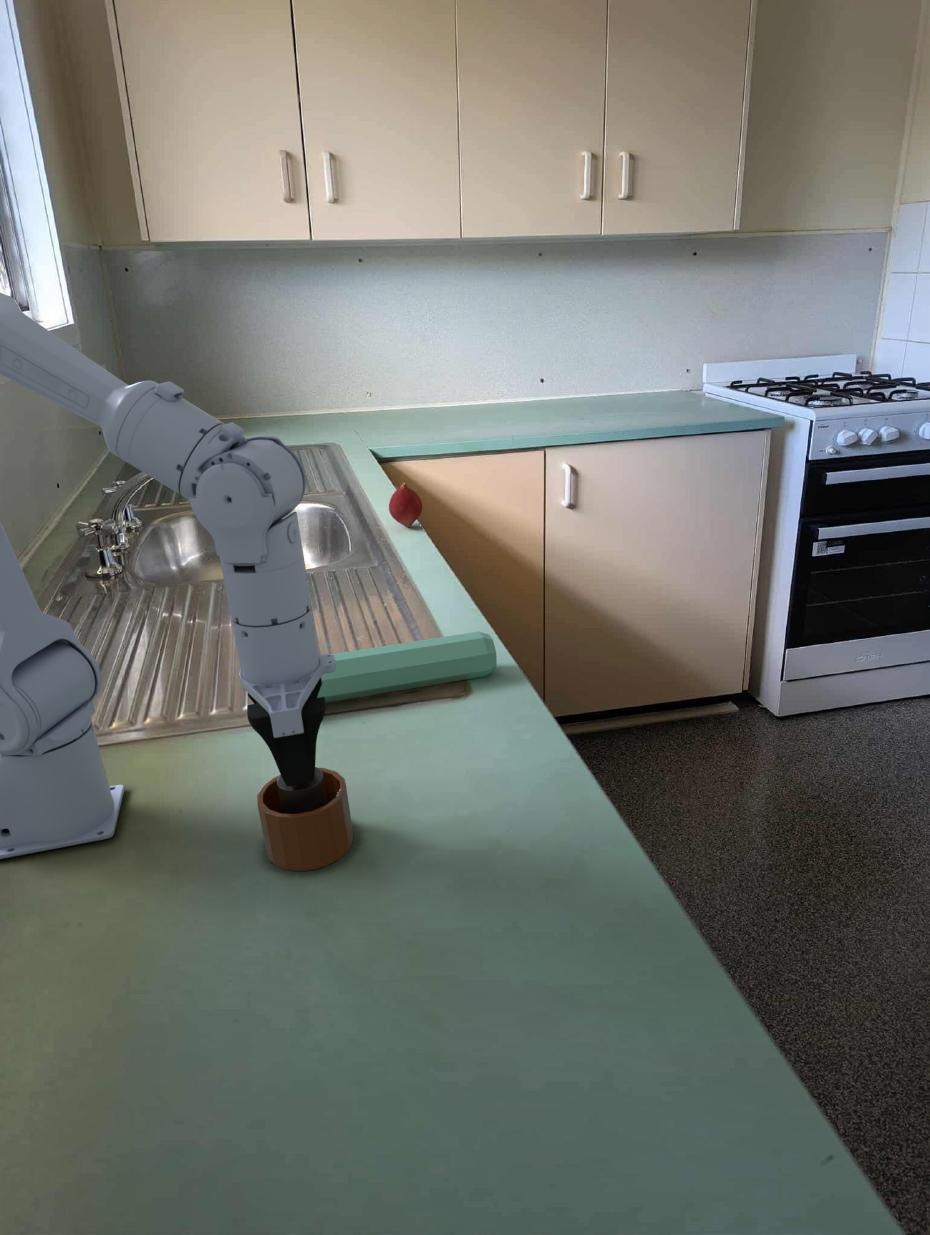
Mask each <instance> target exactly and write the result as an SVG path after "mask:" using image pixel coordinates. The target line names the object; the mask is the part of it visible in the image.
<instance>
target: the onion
mask: <svg viewBox="0 0 930 1235" xmlns="http://www.w3.org/2000/svg"><path fill="white" fill-rule="evenodd" d="M388 511H389V514H390V516H391V517H392V519H393V520H394V521H396V522H397V523H399V524H401V525H402V526H404V527H405V528H411V527H412V525H413V524H414V523H415V522H416V521H417V520H418V519H419V517H420V516H421V514H422V512H423V501H422V499H421V497H420V496H419V494H418V493H416V491H414V490H413V489H412V488H410V487H408V485H407V482H402V484H401V485H400V486H399V487H398V489H396V490H395V491H394V492H393V494H392V495H391V497H390V499H389V504H388Z"/></svg>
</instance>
